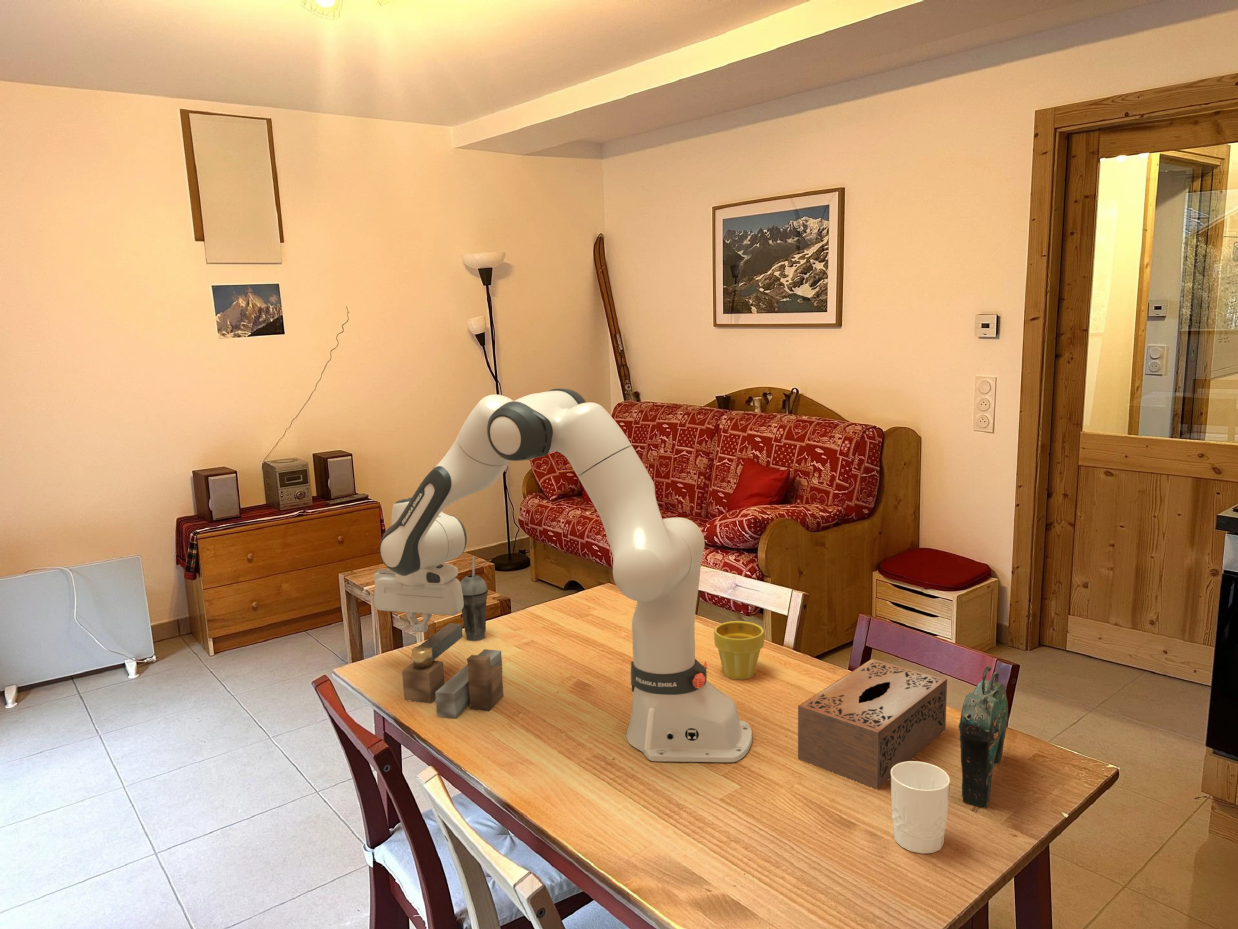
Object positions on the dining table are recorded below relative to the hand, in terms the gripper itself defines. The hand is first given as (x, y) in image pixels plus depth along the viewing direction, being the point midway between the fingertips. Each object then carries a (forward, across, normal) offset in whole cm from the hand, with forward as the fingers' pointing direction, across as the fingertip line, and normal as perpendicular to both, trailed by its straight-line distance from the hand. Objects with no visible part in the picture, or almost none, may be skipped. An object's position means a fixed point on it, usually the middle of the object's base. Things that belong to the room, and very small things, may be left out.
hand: (420, 631), depth 185 cm
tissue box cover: (+9, +95, -13) cm, 97 cm away
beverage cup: (+9, +3, +20) cm, 22 cm away
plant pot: (+9, +68, +12) cm, 70 cm away
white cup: (+9, +101, -40) cm, 109 cm away
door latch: (+9, +14, -9) cm, 19 cm away
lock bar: (+2, +7, -5) cm, 9 cm away
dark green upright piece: (+9, +112, -21) cm, 114 cm away
